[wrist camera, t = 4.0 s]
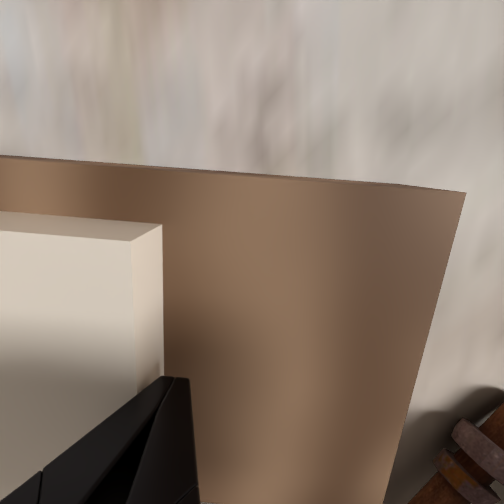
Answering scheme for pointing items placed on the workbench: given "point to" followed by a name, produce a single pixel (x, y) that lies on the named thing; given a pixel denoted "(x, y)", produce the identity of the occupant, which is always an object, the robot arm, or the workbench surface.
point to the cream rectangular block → (72, 330)
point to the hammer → (468, 465)
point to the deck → (277, 312)
